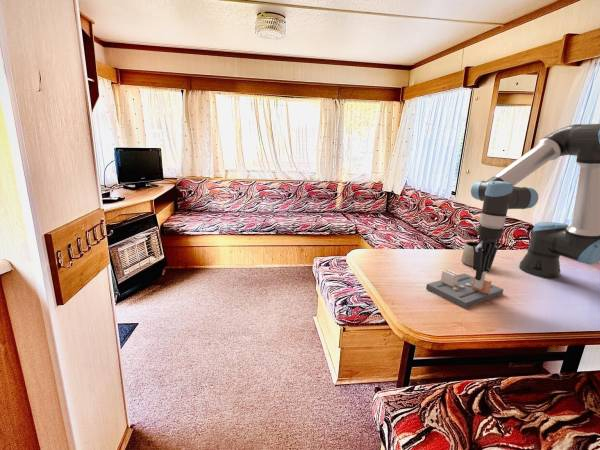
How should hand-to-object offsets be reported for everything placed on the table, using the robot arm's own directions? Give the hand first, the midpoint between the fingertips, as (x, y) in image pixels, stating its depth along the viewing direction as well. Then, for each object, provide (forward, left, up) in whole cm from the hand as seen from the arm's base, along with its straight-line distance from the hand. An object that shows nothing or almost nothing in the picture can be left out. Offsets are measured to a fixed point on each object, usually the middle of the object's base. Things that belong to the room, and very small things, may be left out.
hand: (477, 287), depth 118 cm
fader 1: (+8, -6, -2) cm, 10 cm away
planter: (-18, -34, -4) cm, 38 cm away
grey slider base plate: (+2, -4, -4) cm, 6 cm away
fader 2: (-2, -1, -2) cm, 3 cm away
